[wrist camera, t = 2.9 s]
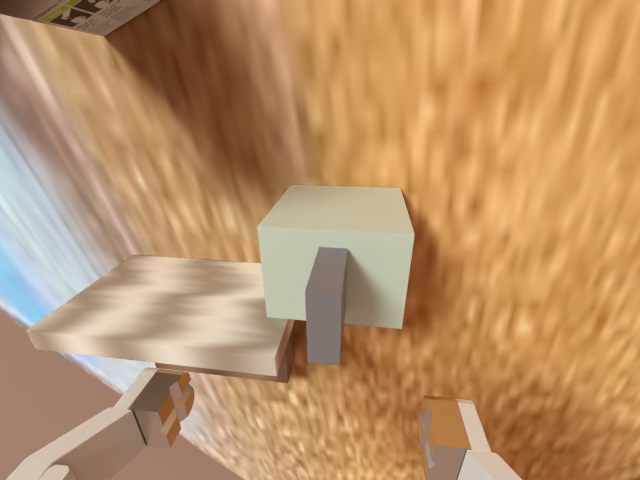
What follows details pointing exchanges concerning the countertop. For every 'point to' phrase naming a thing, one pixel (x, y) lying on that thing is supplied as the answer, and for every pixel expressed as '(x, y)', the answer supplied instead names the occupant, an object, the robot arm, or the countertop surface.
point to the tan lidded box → (176, 319)
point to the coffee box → (78, 13)
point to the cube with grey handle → (336, 261)
